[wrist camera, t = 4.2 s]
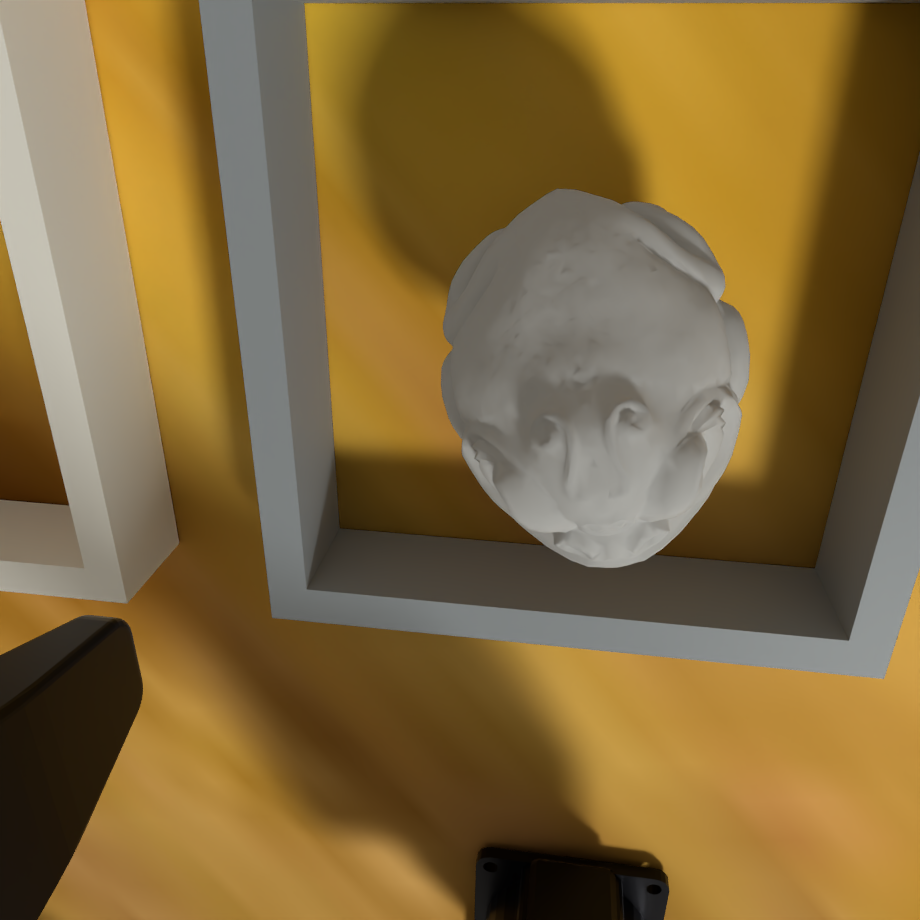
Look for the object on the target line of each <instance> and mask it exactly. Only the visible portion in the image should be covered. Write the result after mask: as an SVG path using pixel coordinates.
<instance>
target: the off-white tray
mask: <svg viewBox="0 0 920 920" xmlns="http://www.w3.org/2000/svg"><path fill="white" fill-rule="evenodd" d="M0 220H1V224H2V229H3V233H4V237H5V241H6V245H7V249H8V253H9V258H10V262H11V266H12V270H13V274H14V278H15V282H16V286H17V291H18V295H19V299H20V303H21V307H22V311H23V315H24V320H25V324H26V328H27V332H28V336H29V340H30V344H31V349H32V353H33V357H34V361H35V365H36V369H37V373H38V378H39V382H40V386H41V390H42V394H43V398H44V402H45V407H46V411H47V415H48V419H49V423H50V427H51V431H52V436H53V440H54V444H55V448H56V452H57V456H58V460H59V465H60V469H61V473H62V477H63V481H64V485H65V489H66V494H67V498H68V502H69V506H68V505H56V504H45V503H33V502H21V501H9V500H0V591H8V592H19V593H29V594H39V595H49V596H59V597H69V598H79V599H89V600H99V601H109V602H119V603H128V602H129V601H130V600H131V599H132V597H133V596H134V595H135V594H136V593H137V592H138V590H139V589H140V588H141V587H142V586H143V585H144V584H145V582H146V581H147V580H148V579H149V578H150V577H151V576H152V574H153V573H154V572H155V571H156V570H157V569H158V567H159V566H160V565H161V564H162V563H163V562H164V561H165V559H166V558H167V557H168V556H169V555H170V554H171V552H172V551H173V550H174V549H175V548H176V547H177V546H178V544H179V538H178V533H177V527H176V521H175V515H174V510H173V504H172V498H171V492H170V487H169V481H168V475H167V470H166V464H165V458H164V452H163V447H162V441H161V435H160V429H159V424H158V418H157V412H156V407H155V401H154V395H153V389H152V384H151V378H150V372H149V366H148V361H147V355H146V349H145V344H144V338H143V332H142V326H141V321H140V315H139V309H138V303H137V298H136V292H135V286H134V281H133V275H132V269H131V263H130V258H129V252H128V246H127V240H126V235H125V229H124V223H123V218H122V212H121V206H120V200H119V195H118V189H117V183H116V177H115V172H114V166H113V160H112V155H111V149H110V143H109V137H108V132H107V126H106V120H105V114H104V109H103V103H102V97H101V92H100V86H99V80H98V74H97V69H96V63H95V57H94V51H93V46H92V40H91V34H90V29H89V23H88V17H87V11H86V6H85V0H0Z"/></svg>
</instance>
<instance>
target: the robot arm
mask: <svg viewBox="0 0 920 920" xmlns="http://www.w3.org/2000/svg"><path fill="white" fill-rule="evenodd" d="M142 694H143V683H142V677H141V673H140V668H139V663H138V659H137V654H136V650H135V645H134V641H133V636H132V632H131V629H130V627H129V625H128V624H127V623H126V622H125V621H124V620H122V619H119V618H113V617H103V616H94V615H85V616H80V617H78V618H75V619H73V620H71V621H69V622H67V623H65V624H63V625H61V626H59V627H57V628H55V629H53V630H51V631H49V632H47V633H45V634H43V635H41V636H39V637H37V638H35V639H33V640H31V641H29V642H26V643H24V644H22V645H20V646H18V647H16V648H14V649H12V650H10V651H8V652H6V653H4V654H2V655H0V920H37V919H38V917H39V916H40V914H41V912H42V910H43V909H44V907H45V905H46V903H47V902H48V900H49V898H50V896H51V895H52V893H53V891H54V889H55V888H56V886H57V884H58V882H59V880H60V878H61V877H62V875H63V873H64V871H65V869H66V867H67V866H68V864H69V862H70V860H71V858H72V856H73V854H74V852H75V850H76V848H77V846H78V844H79V842H80V840H81V837H82V835H83V833H84V831H85V829H86V827H87V824H88V822H89V820H90V818H91V816H92V813H93V811H94V809H95V807H96V804H97V802H98V800H99V798H100V795H101V793H102V791H103V789H104V786H105V784H106V782H107V780H108V777H109V775H110V773H111V771H112V769H113V766H114V764H115V762H116V760H117V757H118V755H119V753H120V751H121V748H122V746H123V744H124V742H125V739H126V737H127V735H128V733H129V731H130V728H131V726H132V724H133V722H134V719H135V717H136V715H137V713H138V710H139V707H140V704H141V700H142ZM668 895H669V885H668V877H667V875H666V874H665V873H664V872H662V871H661V870H657V869H653V868H645V867H637V866H630V865H622V864H615V863H607V862H600V861H592V860H585V859H577V858H570V857H562V856H554V855H547V854H539V853H532V852H524V851H517V850H509V849H502V848H494V847H486V848H483V849H481V850H480V851H479V852H478V855H477V863H476V887H475V920H664V915H665V910H666V905H667V900H668Z"/></svg>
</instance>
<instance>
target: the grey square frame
mask: <svg viewBox="0 0 920 920" xmlns="http://www.w3.org/2000/svg"><path fill="white" fill-rule="evenodd" d="M304 3H920V0H199V7H200V15H201V24H202V32H203V41H204V49H205V57H206V66H207V74H208V83H209V91H210V99H211V108H212V116H213V125H214V133H215V141H216V150H217V158H218V167H219V175H220V183H221V192H222V200H223V209H224V217H225V226H226V234H227V242H228V251H229V259H230V268H231V276H232V284H233V293H234V301H235V310H236V318H237V326H238V335H239V343H240V352H241V360H242V368H243V377H244V385H245V394H246V402H247V411H248V419H249V427H250V436H251V444H252V453H253V461H254V469H255V478H256V486H257V495H258V503H259V511H260V520H261V528H262V537H263V545H264V553H265V562H266V570H267V579H268V587H269V596H270V604H271V612H272V618H279V619H289V620H299V621H309V622H319V623H329V624H339V625H349V626H359V627H369V628H379V629H389V630H399V631H409V632H419V633H430V634H440V635H450V636H460V637H470V638H480V639H490V640H500V641H510V642H520V643H530V644H540V645H550V646H560V647H570V648H580V649H590V650H600V651H610V652H620V653H630V654H640V655H650V656H660V657H670V658H680V659H690V660H700V661H710V662H720V663H730V664H740V665H750V666H760V667H770V668H780V669H790V670H800V671H810V672H820V673H830V674H841V675H851V676H861V677H871V678H881V679H884V677H885V674H886V671H887V668H888V665H889V661H890V658H891V655H892V652H893V649H894V646H895V643H896V640H897V637H898V634H899V630H900V627H901V624H902V621H903V618H904V615H905V612H906V609H907V606H908V602H909V599H910V596H911V593H912V590H913V587H914V584H915V581H916V578H917V574H918V571H919V568H920V153H919V157H918V161H917V165H916V169H915V173H914V177H913V181H912V185H911V188H910V192H909V196H908V200H907V204H906V208H905V212H904V216H903V220H902V224H901V228H900V232H899V236H898V240H897V244H896V248H895V252H894V256H893V260H892V264H891V268H890V272H889V276H888V280H887V284H886V288H885V292H884V296H883V300H882V304H881V308H880V312H879V316H878V320H877V324H876V328H875V332H874V336H873V340H872V344H871V348H870V352H869V356H868V360H867V364H866V368H865V372H864V376H863V379H862V383H861V387H860V391H859V395H858V399H857V403H856V407H855V411H854V415H853V419H852V423H851V427H850V431H849V435H848V439H847V443H846V447H845V451H844V455H843V459H842V463H841V467H840V471H839V475H838V479H837V483H836V487H835V491H834V495H833V499H832V503H831V507H830V511H829V515H828V519H827V523H826V527H825V531H824V535H823V539H822V543H821V547H820V551H819V555H818V559H817V563H816V567H815V568H804V567H792V566H781V565H769V564H757V563H745V562H733V561H721V560H709V559H697V558H686V557H674V556H662V555H652V556H651V557H649V558H648V559H646V560H645V561H641V562H637V563H634V564H630V565H627V566H622V567H617V568H602V567H588V566H585V565H582V564H579V563H577V562H574V561H571V560H569V559H568V558H566V557H564V556H562V555H561V554H559V553H557V552H555V551H554V550H552V549H550V548H549V547H547V546H543V545H531V544H519V543H507V542H496V541H484V540H472V539H460V538H448V537H436V536H424V535H413V534H401V533H389V532H377V531H365V530H353V529H341V528H340V527H339V512H338V497H337V482H336V467H335V453H334V438H333V423H332V408H331V393H330V379H329V364H328V349H327V334H326V319H325V305H324V290H323V275H322V260H321V246H320V231H319V216H318V201H317V186H316V172H315V157H314V142H313V127H312V112H311V98H310V83H309V68H308V53H307V38H306V24H305V9H304Z"/></svg>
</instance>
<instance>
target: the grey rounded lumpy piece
mask: <svg viewBox="0 0 920 920" xmlns="http://www.w3.org/2000/svg"><path fill="white" fill-rule="evenodd" d="M724 289H725V277H724V274H723V271H722V269H721V268H720V266H719V264H718V262H717V260H716V259H715V257H714V255H713V253H712V251H711V250H710V248H709V246H708V245H707V243H706V242H705V240H704V238H703V237H702V236H701V235H700V234H699V233H698V232H697V231H696V230H695V229H694V228H693V227H692V226H690V225H689V224H688V223H686V222H685V221H683V220H682V219H680V218H679V217H677V216H675V215H673V214H671V213H669V212H667V211H666V210H665V209H663V208H661V207H660V206H658V205H654V204H650V203H644V202H627V203H624V204H619V203H617V202H615V201H613V200H611V199H607V198H603V197H600V196H597V195H593V194H590V193H586V192H583V191H579V190H576V189H556V190H554V191H551V192H549V193H547V194H546V195H544V196H543V197H542V198H540V199H539V200H537V201H536V202H534V203H533V204H532V205H530V206H529V207H528V208H526V209H525V210H523V211H522V212H521V213H519V214H518V215H517V216H516V217H515V218H514V219H513V220H512V221H511V222H510V224H509V225H508V226H507V227H506V228H503V229H499V230H497V231H494V232H492V233H491V234H490V235H488V236H487V237H486V238H485V239H484V240H482V241H481V242H480V243H479V244H478V245H477V246H476V247H475V248H474V249H473V250H472V252H471V253H470V254H469V255H468V256H467V257H466V258H465V259H464V260H463V262H462V263H461V265H460V267H459V269H458V270H457V272H456V274H455V276H454V277H453V279H452V282H451V286H450V289H449V294H448V300H447V307H446V313H445V317H444V322H443V330H444V335H445V338H446V339H447V341H448V342H449V343H450V344H451V345H452V346H453V349H452V351H451V352H450V353H449V354H448V356H447V357H446V359H445V360H444V362H443V366H442V372H441V389H442V397H443V400H444V404H445V407H446V410H447V414H448V417H449V419H450V422H451V424H452V426H453V427H454V429H455V430H456V432H457V433H458V435H459V436H460V438H462V439H463V440H462V456H463V457H464V459H465V461H466V463H467V464H468V466H469V468H470V470H471V471H472V473H473V474H474V476H475V477H476V479H477V480H478V482H479V483H480V485H481V487H482V488H483V489H484V491H485V492H486V493H487V494H488V495H489V497H490V498H491V499H492V500H493V501H494V502H495V503H496V504H497V505H498V506H499V507H500V508H501V509H502V510H504V511H505V512H506V513H507V514H509V515H510V516H511V517H512V518H513V519H514V520H515V521H516V522H517V523H518V524H520V525H521V526H522V527H523V528H524V529H525V530H526V531H527V532H529V533H530V534H531V535H533V536H534V537H535V538H537V539H538V540H539V541H540V542H542V543H543V544H544V545H546V546H547V547H549V548H550V549H552V550H554V551H555V552H557V553H559V554H561V555H562V556H564V557H566V558H568V559H569V560H571V561H574V562H577V563H579V564H582V565H585V566H588V567H602V568H617V567H622V566H627V565H630V564H634V563H637V562H641V561H645V560H646V559H648V558H649V557H651V556H652V555H654V554H655V553H657V552H658V551H660V550H662V549H663V548H664V547H665V546H666V545H667V544H668V543H669V542H670V541H671V540H673V539H674V538H675V537H676V536H677V535H678V534H679V533H680V532H681V531H682V530H683V529H684V527H685V526H686V525H687V524H688V523H689V521H690V520H691V519H692V518H693V517H694V515H695V514H696V513H697V512H698V511H699V509H700V508H701V507H702V505H703V504H704V503H705V501H706V500H707V499H708V497H709V495H710V493H711V492H712V490H713V488H714V486H715V484H716V483H717V482H718V480H719V479H720V477H721V476H722V474H723V473H724V471H725V469H726V467H727V465H728V462H729V460H730V458H731V456H732V453H733V450H734V446H735V443H736V439H737V436H738V432H739V427H740V422H741V417H742V413H741V409H740V407H739V405H738V403H739V402H740V400H741V399H742V397H743V394H744V392H745V389H746V386H747V384H748V381H749V364H750V352H749V344H748V338H747V333H746V329H745V325H744V322H743V319H742V317H741V315H740V313H739V312H738V311H737V310H736V309H735V308H734V307H733V306H731V305H729V304H727V303H725V302H723V301H721V300H719V299H720V297H721V296H722V294H723V292H724Z"/></svg>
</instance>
